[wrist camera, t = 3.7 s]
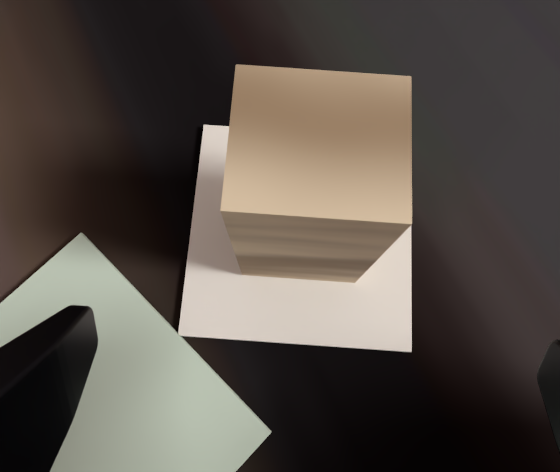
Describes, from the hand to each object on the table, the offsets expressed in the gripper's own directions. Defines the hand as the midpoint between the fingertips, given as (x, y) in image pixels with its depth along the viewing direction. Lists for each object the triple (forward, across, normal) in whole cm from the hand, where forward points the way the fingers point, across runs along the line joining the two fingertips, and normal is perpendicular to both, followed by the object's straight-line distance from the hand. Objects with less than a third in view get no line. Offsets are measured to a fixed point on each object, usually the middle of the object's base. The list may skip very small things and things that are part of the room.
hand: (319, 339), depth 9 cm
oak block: (+12, 0, +4) cm, 13 cm away
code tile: (+12, 0, +4) cm, 13 cm away
